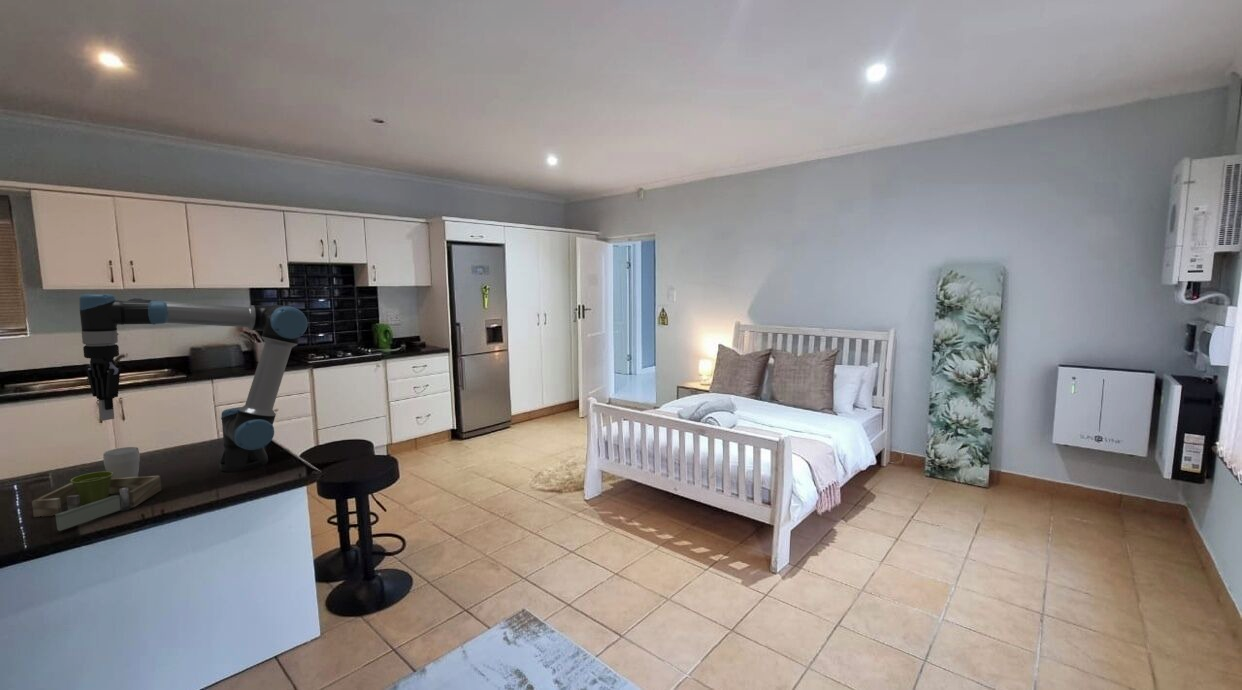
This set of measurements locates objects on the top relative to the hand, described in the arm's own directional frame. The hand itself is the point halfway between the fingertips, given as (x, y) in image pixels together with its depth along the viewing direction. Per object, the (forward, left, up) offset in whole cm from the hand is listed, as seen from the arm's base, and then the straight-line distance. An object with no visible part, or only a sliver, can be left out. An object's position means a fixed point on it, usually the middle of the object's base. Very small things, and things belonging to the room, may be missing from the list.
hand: (107, 419), depth 155 cm
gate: (-1, +12, -27) cm, 30 cm away
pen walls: (+6, -3, -28) cm, 29 cm away
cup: (+9, -19, -28) cm, 35 cm away
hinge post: (-5, +4, -28) cm, 29 cm away
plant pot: (+8, -4, -29) cm, 30 cm away
